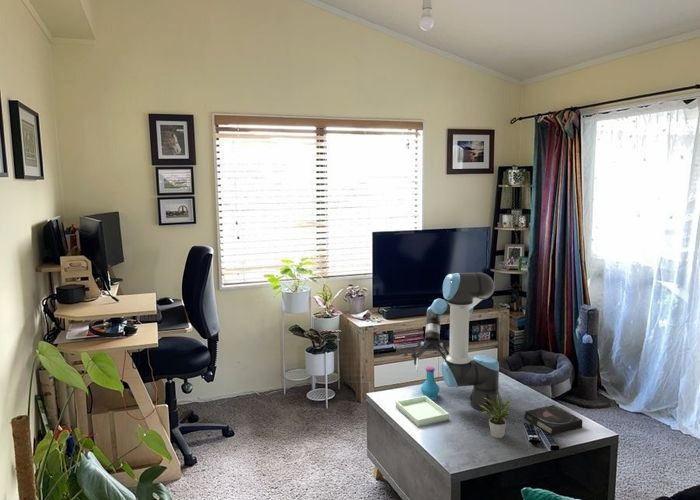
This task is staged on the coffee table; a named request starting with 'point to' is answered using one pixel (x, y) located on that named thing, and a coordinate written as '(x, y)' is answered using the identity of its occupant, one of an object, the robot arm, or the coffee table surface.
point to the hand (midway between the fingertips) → (430, 371)
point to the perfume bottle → (430, 385)
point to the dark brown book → (553, 419)
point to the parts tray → (422, 411)
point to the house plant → (497, 417)
